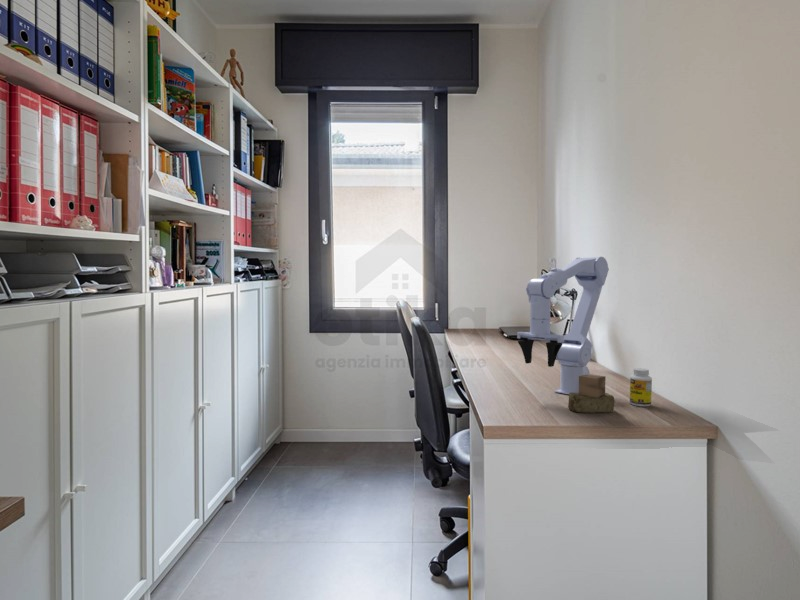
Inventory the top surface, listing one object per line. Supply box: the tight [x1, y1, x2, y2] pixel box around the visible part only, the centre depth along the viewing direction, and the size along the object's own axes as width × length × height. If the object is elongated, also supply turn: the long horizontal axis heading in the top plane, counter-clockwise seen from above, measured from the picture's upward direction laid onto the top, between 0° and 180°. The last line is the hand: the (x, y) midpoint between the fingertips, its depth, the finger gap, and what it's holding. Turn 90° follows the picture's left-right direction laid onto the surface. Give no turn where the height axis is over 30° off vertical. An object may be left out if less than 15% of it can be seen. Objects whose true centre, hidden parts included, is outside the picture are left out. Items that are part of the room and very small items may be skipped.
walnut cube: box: [579, 373, 606, 398], centre depth 137 cm, size 5×5×5 cm
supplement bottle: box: [629, 367, 653, 408], centre depth 145 cm, size 6×6×10 cm
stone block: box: [567, 392, 616, 414], centre depth 139 cm, size 6×12×5 cm, turn 91°
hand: (539, 364), depth 151 cm, fingers open, 7 cm apart
